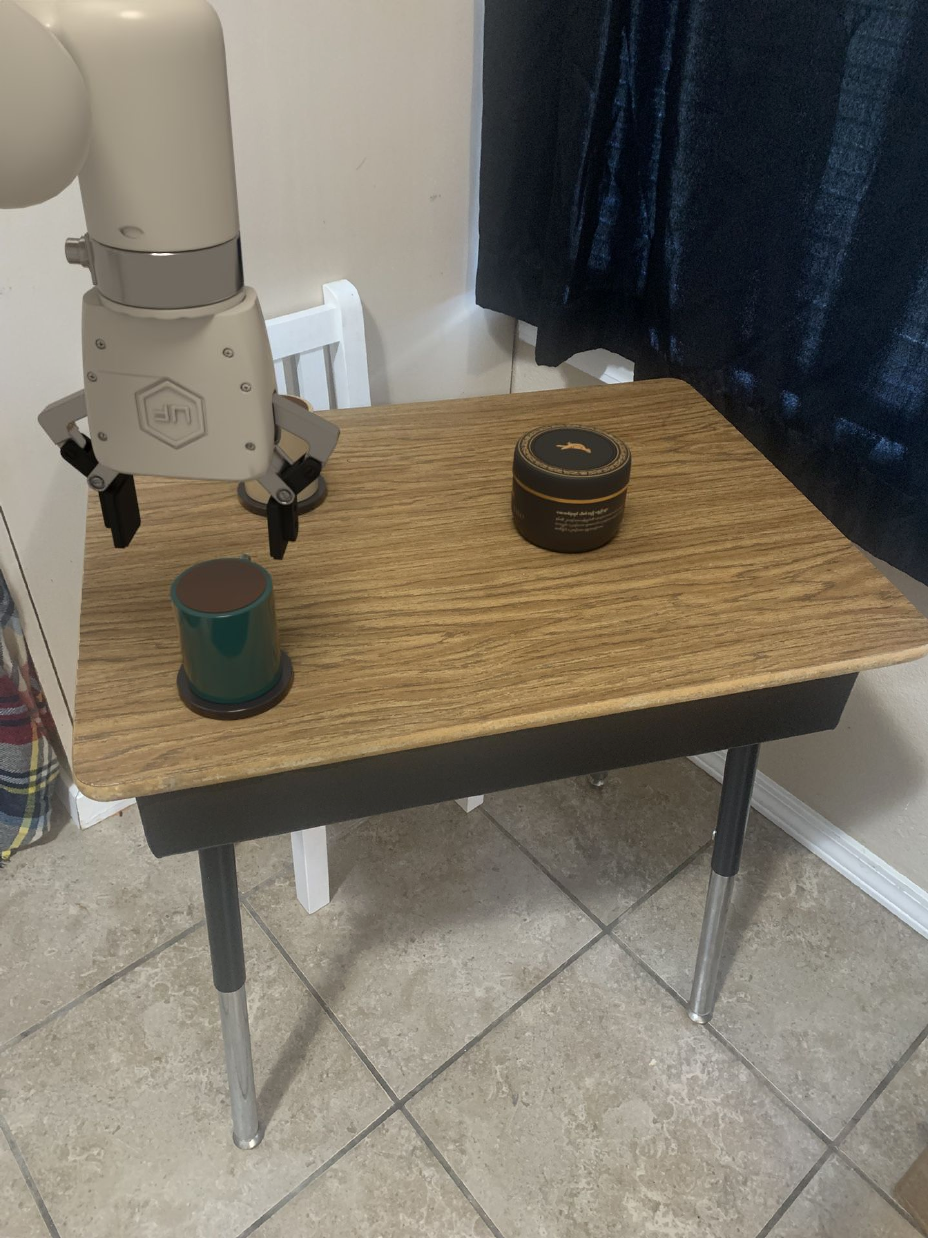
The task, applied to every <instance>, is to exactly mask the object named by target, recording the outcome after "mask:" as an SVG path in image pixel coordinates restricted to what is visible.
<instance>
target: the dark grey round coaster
mask: <svg viewBox="0 0 928 1238" xmlns="http://www.w3.org/2000/svg"><path fill="white" fill-rule="evenodd" d="M318 482H319V486H318V489H317V491H316V492H315V493H314V494H313V495H312V496H311V497H309V498H307V499H305V500H303V501H300V502H297V503H298V516H300V515H303V514H306V513H308V512H311V511H313V510H315V509H317V508H318V507H319V506H321V504H322V503H323V502H324V501H325V500H326V498H327V494H328V488H327V487H328V485H327V482H326V479H325V478H324V476H323V475H322V473H320V476H319V477H318ZM236 492H237V499H238V502H239V504H240V505H241V506H242V507H243V508H244V510H246V511H248V512H251V513H252V514H255V515H257V516H262V517H267V511H266V507H267V504H264V503H261V502H258V501H256V500H254V499H252V498H251V497H249V496H248V494H247V493H246V491H245V485H244V482H238V484H237V487H236Z"/></svg>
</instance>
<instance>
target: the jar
mask: <svg viewBox="0 0 928 1238" xmlns="http://www.w3.org/2000/svg"><path fill="white" fill-rule="evenodd" d="M512 459H513V460H512V464H511V465H512V466H511V472H512V481H511V497H510V498H511V499H510V507H511V509H510V510H511V514H512V518H513V522H514V524H515V528H516V529H517V531H518V532H519V533H520V534H521V535H522V536H523V538H525V539H526V540H527V541H528V542H530V543H532V544H534V545H535V546H537V547H540V548H541V549H546V550H548V551H553V552H559V553H582V552H583V553H584V552H589V551H592V550H595V549H598V548H600V547H602V546H604V545H605V544H606V543H608V542H610V540H611V539H612V538H614V536H615V535H616V533H617V531H618V529H619V527H620V525H621V522H622V521H623V518H624V513H625V512H624V511H625V507H626V499H627V493H628V487H629V484H630V482H631V477H632V473H631V470H632V453H631V450H630V447H629V446H628V445H627V443H625V442H624V440H622V439H621V438H620V437H619V436H617V435H616V434H614V433H611V432H609V431H607V430H605V429H602V428H600V427H595V426H592V425H586V424H581V423H552V424H546V425H542V426H538V427H535V428H532V429H530V430H529V431H526V432H525V433H524V434H523V435H521V437H519V439H518V440H517V442H516V443H515V447H514V451H513V458H512Z"/></svg>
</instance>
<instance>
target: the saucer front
mask: <svg viewBox="0 0 928 1238" xmlns="http://www.w3.org/2000/svg"><path fill="white" fill-rule="evenodd" d="M280 650H281V659H282V674H281V676H280V679H279V680H278V682H277V683H276V684H275V686H274V687H273V688H272V689H270V690H269V691H268V692H266V693H265V694H263V695H261V696H260V697H257V698H255V699H252V700H250V701H246V702H242V703H235V704H221V703H214V702H210V701H207V700H204V699H202V698H200V697H199V696H197V695H196V694H195V693H194V692H193V691H192V690H191V689H190V688H189V686H188V683H187V680H186V675H185V670H184V664H183V662H182V663H181V665H180V667H179V668H178V671H177V674H176V678H175V679H176V688H177V692H178V696H179V698H180V700H181V702H182V703H183V705H185V707H187V708H188V709H189V710H190V711H192V712H193V713H195V714H197V715H199V716H202V717H204V718H208V719H213V720H219V721H221V720H222V721H233V720H243V719H248V718H252V717H254V716H258V715H260V714H262V713H265V712H267V711H268V710H271V709H272V708H273V707H275V706H276V705H278V704H279V703H281V701H282V700H283V699H284V698H285V697H286V696H287V695H288V693H289V691H290V690H291V688H292V686H293V682H294V668H293V663H292V660H291V658H290V656H289V655H288V654H287V651H285V650H284V649H283V648H282V647H280Z"/></svg>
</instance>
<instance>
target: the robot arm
mask: <svg viewBox="0 0 928 1238" xmlns="http://www.w3.org/2000/svg"><path fill="white" fill-rule="evenodd" d="M217 12H218V11H216V9H215V8H214V6H213V5H212V4H211V3H210V2H209V1H208V0H0V210H15V209H25V208H29V207H33V206H37V205H42V204H43V203H46V202H47V201H49V200H51V199H53V198H56V197H57V196H59V195H60V194H61V193H62V192H63V191H65V190H66V189H67V188H68V187H69V186H70V185H72V183H73V182H74V181H75V179H76V178H77V180H78V185H79V190H80V191H79V192H80V196H81V203H82V207H83V209H82V210H83V213H84V220H85V225H86V232H85V233H84V235H81V236H80V237H67V238H66V239H65V242H64V255H65V259H66V261H67V263H68V264H69V265H78V266H82V268H83V269H88V270H89V273H90V276H91V282H92V285H93V287H91V288H90V289H88V290H87V291H85V293H84V294H83V295H82V304H81V330H80V331H81V358H82V359H81V360H82V377H83V388H82V389H79V390H77V391H75V392H72V393H71V394H69V395H67V396H64V397H62V398H60V399H58V400H56V401H54V402H50V403H49V404H48V405H46V406H45V407H44V408H43V410H41V412H40V413H39V414H38V415H37V423H38V424H39V426H40V427H41V429H43V431H44V432H45V433H46V435H47V436H48V437H49V439H50V440H51V441H52V443H53V444H54V445H55V446H57V447H58V448H59V454H60V456H61V458H62V459H63V460H64V461H65V462H67V463H68V464H69V465H70V466H72V468H74V469H75V470H77V471H78V472H79V473H80V474H81V475H82V476H84V477H85V478H86V484H87V485H88V487H89V488H90V489H91V490H93V491H95V492H97V493H98V498H99V503H100V509H101V514H102V519H103V524H104V527H105V528H106V529H110V532H111V537H112V542H113V548H115V549H122V550H124V549H126V548H128V547H129V546H130V544H131V542H132V540H133V539H134V537H135V535H136V534H137V532H138V531H139V528H140V527H141V525H142V518H141V513H140V507H139V501H138V495H137V489H136V483H135V476H140V477H141V476H142V477H152V478H153V477H154V478H166V479H179V480H180V479H181V480H193V481H206V482H207V481H208V482H209V481H210V482H225V483H226V482H227V483H240V482H249V481H254V480H257V481H258V482H259V483H260V484H261V485H262V486H263V487H264V488H265V489H266V490H267V491H268V493H269V494H270V495H271V496H270V498H269V501H268V503H267V507H266V511H267V516H266V522H267V523H266V524H267V536H268V547H269V557H270V558H272V560H274V561H275V560H276V561H283V560H284V557H285V553H286V551H287V548H288V545H289V542H291V543H293V542H297V539H298V536H299V529H300V526H299V525H300V524H299V523H300V522H299V515H298V503H297V495H298V494H299V493H300V492H301V491H303V490H304V489H305V488H306V487H307V486H309V485H310V484H311V483H312V482H313V481H314V480H316V479H317V478H318V477H319V476H320V474H322V473H321V472H322V471H323V469H324V467H325V465H326V464H327V463H328V461H329V459H330V457H331V456H332V454H333V452H334V451H335V449H336V447H337V444H338V441H339V438H340V435H341V430H340V427H339V426H338V425H336V424H334V423H332V422H331V421H329V420H327V419H325V418H323V417H322V416H319V415H318V414H316V413H314V412H313V413H312V412H310V411H309V410H307V409H305V408H303V407H301V406H299V405H297V404H295V403H294V402H292V401H290V400H288V399H286V398H284V397H282V396H281V395H279V394H280V393H279V389H278V382H277V375H276V369H275V362H274V357H273V352H272V347H271V342H270V338H269V334H268V328H267V324H266V321H265V317H264V314H263V310H262V306H261V303H260V299H259V297H258V293H257V291H256V289H254V288H253V287H252V286H249V285H246V284H245V271H244V260H243V248H242V236H241V224H240V212H239V199H238V189H237V177H236V176H237V175H236V164H235V150H234V140H233V139H234V138H233V127H232V125H233V124H232V116H231V105H230V103H231V102H230V89H229V79H228V67H227V66H228V65H227V55H226V53H227V52H226V46H225V38H224V37H225V36H224V30H223V29H224V28H223V26H222V22H221V19H220V17H219V15H218V13H217ZM86 417H87V424H88V431H89V436H88V435H87V434H85V433H83V432H81V431H80V428H79V426H78V425H77V423H76V422H78V421H80V420H82V419H84V418H86ZM281 428H282V429H284V430H286V431H288V432H290V433H292V434H293V435H295V436H297V437H299V438H301V439H303V440H305V441H306V442H307V443H308V444H309V449H308V451H307V452H306V453H305V454H303V455H302V456H301V457H300V458H299V459H298V460H297V461H295V462H293V461H292V460H291V459H290V458H289V456H288V455H287V454H286V453H285V452H284V451H283V450H282V449H281V448H280V447H279V446H278V444H279V442H280V439H281Z"/></svg>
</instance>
